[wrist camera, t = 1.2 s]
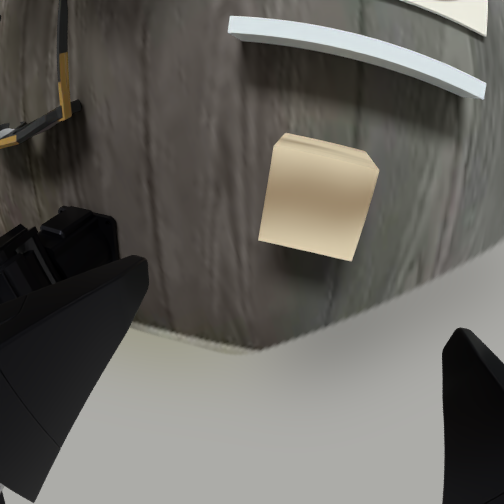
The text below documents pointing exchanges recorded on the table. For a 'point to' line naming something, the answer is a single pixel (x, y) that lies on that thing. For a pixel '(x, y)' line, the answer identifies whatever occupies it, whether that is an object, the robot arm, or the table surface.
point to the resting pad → (458, 12)
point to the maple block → (317, 196)
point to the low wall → (357, 51)
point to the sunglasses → (10, 137)
